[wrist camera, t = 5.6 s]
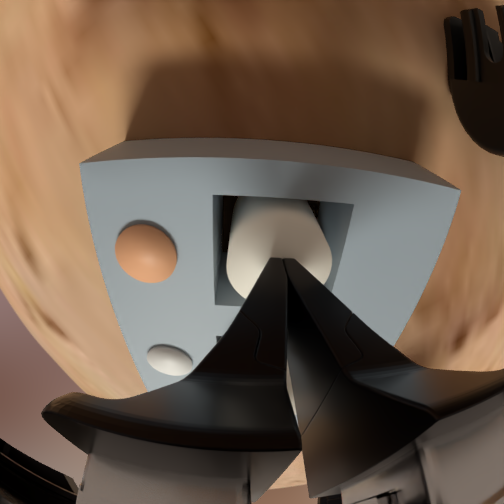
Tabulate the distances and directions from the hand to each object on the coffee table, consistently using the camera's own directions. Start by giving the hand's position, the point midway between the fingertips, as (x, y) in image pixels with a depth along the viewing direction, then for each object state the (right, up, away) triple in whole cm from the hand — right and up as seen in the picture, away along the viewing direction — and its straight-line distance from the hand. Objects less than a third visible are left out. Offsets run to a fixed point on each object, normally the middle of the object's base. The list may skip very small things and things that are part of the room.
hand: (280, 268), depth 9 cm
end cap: (+14, +10, 0) cm, 17 cm away
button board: (0, -3, +7) cm, 8 cm away
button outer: (0, +2, +3) cm, 4 cm away
